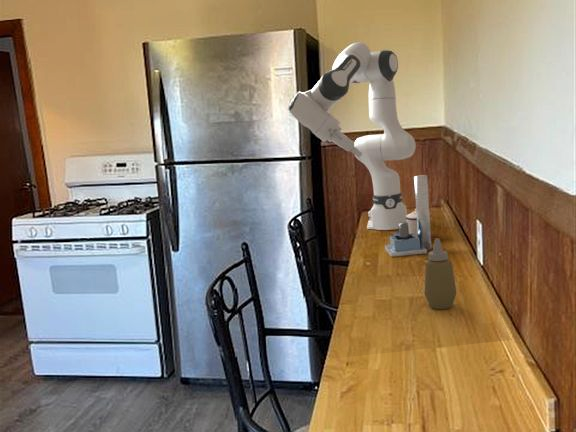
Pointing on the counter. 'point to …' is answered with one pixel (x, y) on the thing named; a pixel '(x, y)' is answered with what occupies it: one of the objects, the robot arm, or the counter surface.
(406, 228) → the dark grey rounded rod
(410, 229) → the teacup with lid
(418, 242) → the box with upright lever
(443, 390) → the counter surface
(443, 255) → the squeeze bottle
